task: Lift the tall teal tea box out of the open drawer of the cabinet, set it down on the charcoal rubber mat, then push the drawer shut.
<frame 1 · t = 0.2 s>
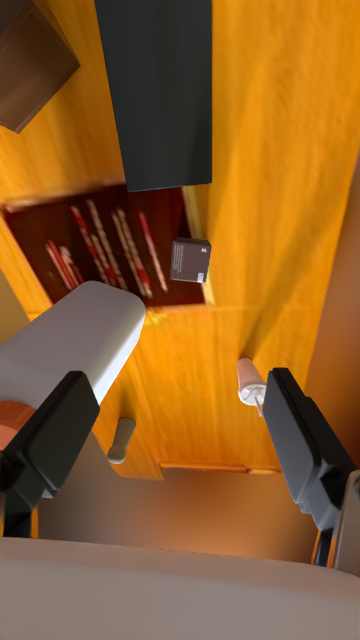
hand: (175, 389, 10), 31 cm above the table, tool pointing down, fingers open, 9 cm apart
smoothie: (244, 363, 48), on the table
pepper shaker: (127, 423, 63), on the table
mat: (161, 103, 27), on the table
plastic bottle: (111, 314, 44), on the table
cabinet: (2, 29, 25), on the table
box: (190, 255, 37), on the table
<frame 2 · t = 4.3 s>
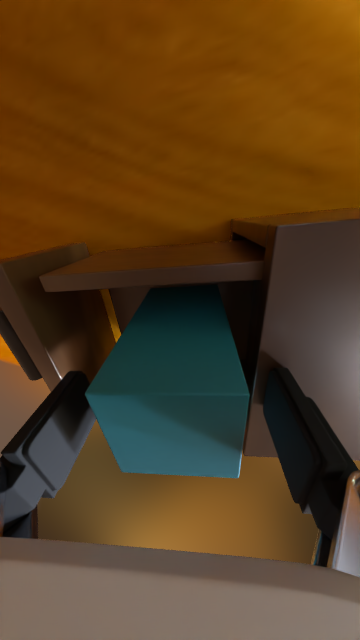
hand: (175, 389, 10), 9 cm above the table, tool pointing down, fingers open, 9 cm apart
drawer: (138, 334, 14), point 5 cm above the table, slide at 11.0 cm, touching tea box
cabinet: (320, 300, 16), on the table
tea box: (185, 316, 16), point 2 cm above the table, touching drawer
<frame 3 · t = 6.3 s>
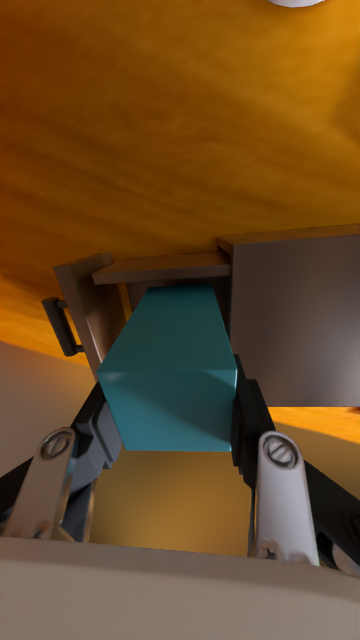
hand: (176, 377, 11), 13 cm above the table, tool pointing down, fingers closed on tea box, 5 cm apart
drawer: (149, 319, 19), point 5 cm above the table, slide at 10.9 cm
cabinet: (286, 295, 21), on the table
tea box: (182, 313, 17), point 6 cm above the table, touching gripper
when the fingers open (7 cm above the table, at t = 12.8 s): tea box stays where it is, resting on mat.
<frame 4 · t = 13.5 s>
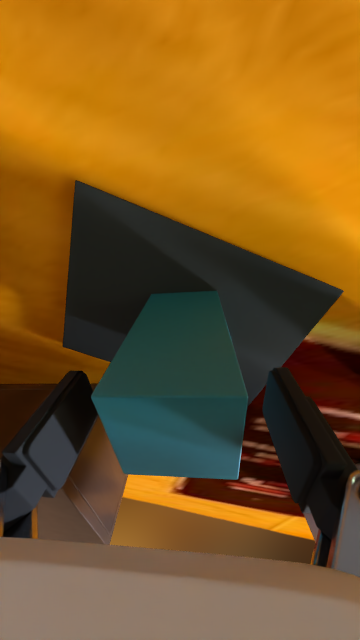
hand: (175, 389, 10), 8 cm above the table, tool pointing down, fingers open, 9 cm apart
mat: (184, 320, 17), on the table
cabinet: (66, 421, 25), on the table
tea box: (185, 321, 16), resting on mat
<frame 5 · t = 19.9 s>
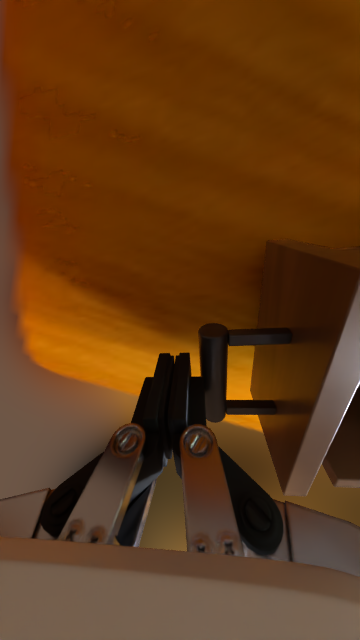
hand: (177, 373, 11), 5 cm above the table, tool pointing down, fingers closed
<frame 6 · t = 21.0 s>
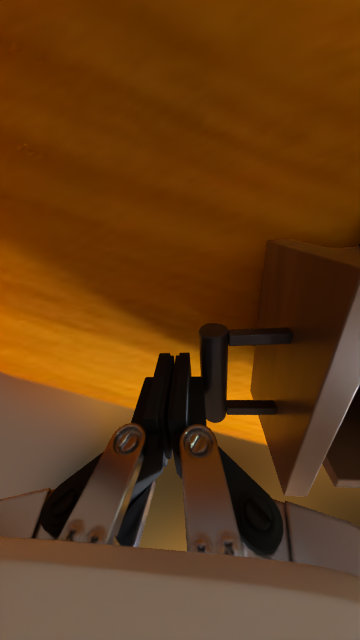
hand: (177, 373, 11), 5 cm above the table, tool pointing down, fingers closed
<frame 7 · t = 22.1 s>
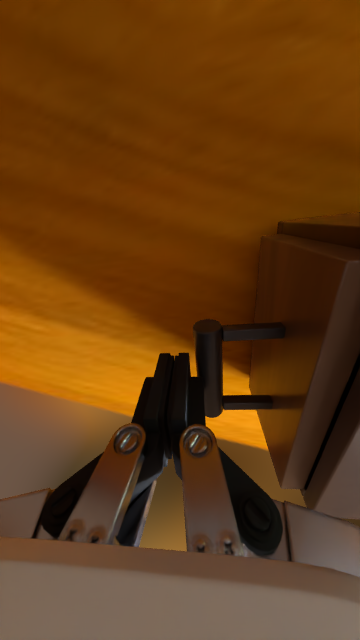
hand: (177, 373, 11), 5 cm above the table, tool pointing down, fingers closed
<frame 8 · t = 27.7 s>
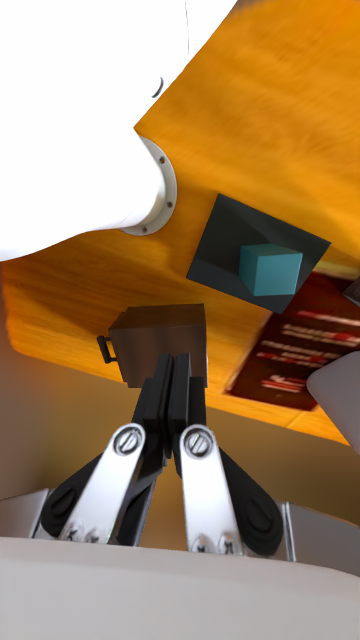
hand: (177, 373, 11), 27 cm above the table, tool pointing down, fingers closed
mat: (253, 261, 33), on the table
drawer: (147, 346, 38), point 5 cm above the table, slide at 0.0 cm, touching cabinet
plastic bottle: (344, 378, 44), on the table
cabinet: (169, 333, 42), on the table
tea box: (255, 260, 33), resting on mat
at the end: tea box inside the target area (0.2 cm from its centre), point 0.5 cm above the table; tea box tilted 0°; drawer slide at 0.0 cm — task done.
